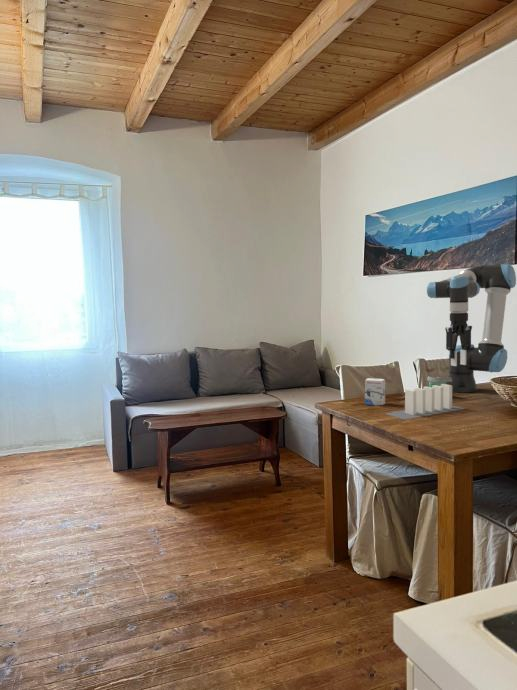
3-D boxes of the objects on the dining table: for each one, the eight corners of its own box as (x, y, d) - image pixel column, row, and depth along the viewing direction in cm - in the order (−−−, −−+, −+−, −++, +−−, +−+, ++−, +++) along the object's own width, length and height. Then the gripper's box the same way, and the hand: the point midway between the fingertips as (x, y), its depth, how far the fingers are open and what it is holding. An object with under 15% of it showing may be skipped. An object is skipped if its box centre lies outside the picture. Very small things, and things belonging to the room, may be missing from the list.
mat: (444, 404, 237) (444, 403, 236) (465, 410, 226) (465, 408, 226) (384, 414, 222) (384, 413, 222) (403, 420, 211) (403, 419, 211)
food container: (422, 396, 256) (422, 376, 254) (428, 394, 260) (428, 374, 258) (445, 399, 246) (445, 379, 245) (452, 397, 250) (452, 377, 249)
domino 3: (426, 409, 227) (426, 386, 226) (434, 411, 223) (434, 388, 222) (423, 409, 227) (423, 386, 226) (431, 411, 222) (431, 388, 221)
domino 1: (408, 412, 223) (408, 389, 222) (416, 414, 219) (416, 391, 218) (405, 412, 222) (405, 389, 221) (413, 415, 218) (413, 391, 217)
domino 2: (417, 410, 225) (417, 387, 224) (425, 412, 221) (425, 389, 220) (414, 411, 225) (414, 388, 223) (422, 413, 220) (422, 390, 219)
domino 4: (434, 407, 229) (434, 385, 228) (443, 409, 225) (443, 387, 224) (432, 408, 229) (432, 385, 228) (440, 410, 224) (440, 387, 223)
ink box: (364, 405, 242) (364, 380, 240) (367, 402, 246) (366, 378, 245) (383, 406, 238) (383, 380, 237) (385, 403, 243) (385, 378, 241)
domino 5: (443, 406, 232) (443, 383, 230) (452, 408, 227) (452, 385, 226) (440, 406, 231) (440, 384, 230) (449, 408, 226) (449, 386, 225)
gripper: (467, 311, 235) (466, 362, 237) (436, 313, 227) (436, 366, 230) (480, 311, 228) (480, 364, 230) (449, 313, 220) (449, 368, 223)
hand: (458, 365), depth 230 cm, fingers open, 5 cm apart
